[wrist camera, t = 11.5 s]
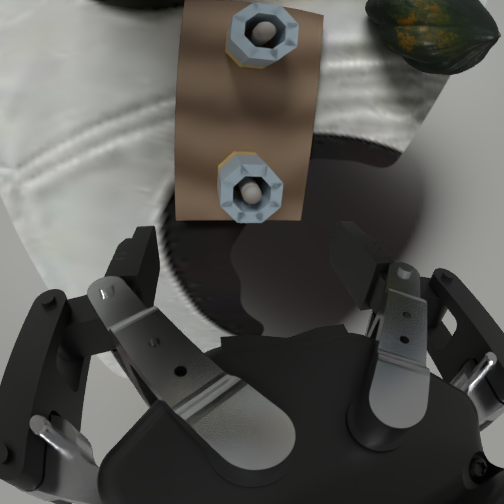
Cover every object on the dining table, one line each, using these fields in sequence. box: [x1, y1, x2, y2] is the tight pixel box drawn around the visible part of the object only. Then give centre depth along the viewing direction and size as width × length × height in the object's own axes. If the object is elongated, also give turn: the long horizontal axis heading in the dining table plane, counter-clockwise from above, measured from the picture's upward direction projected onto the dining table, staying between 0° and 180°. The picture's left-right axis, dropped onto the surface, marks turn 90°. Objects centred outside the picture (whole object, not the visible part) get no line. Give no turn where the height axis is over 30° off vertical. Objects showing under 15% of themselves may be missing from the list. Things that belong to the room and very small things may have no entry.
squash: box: [365, 0, 501, 75], centre depth 17 cm, size 14×15×15 cm
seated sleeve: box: [225, 2, 299, 69], centre depth 19 cm, size 5×5×6 cm
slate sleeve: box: [217, 151, 284, 223], centre depth 26 cm, size 5×5×6 cm
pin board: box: [175, 0, 324, 221], centre depth 23 cm, size 24×14×9 cm, turn 176°
